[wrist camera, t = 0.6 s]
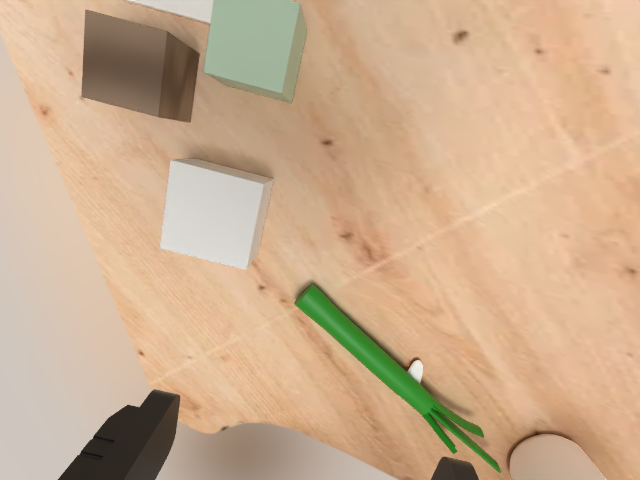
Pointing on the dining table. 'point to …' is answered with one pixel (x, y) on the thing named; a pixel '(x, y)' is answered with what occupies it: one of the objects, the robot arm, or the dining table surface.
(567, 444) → the alcohol
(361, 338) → the green onion
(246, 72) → the sage block
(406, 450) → the dining table surface
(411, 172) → the dining table surface
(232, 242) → the grey base block
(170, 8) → the card
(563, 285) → the dining table surface
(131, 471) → the robot arm
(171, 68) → the walnut block
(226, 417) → the dining table surface
